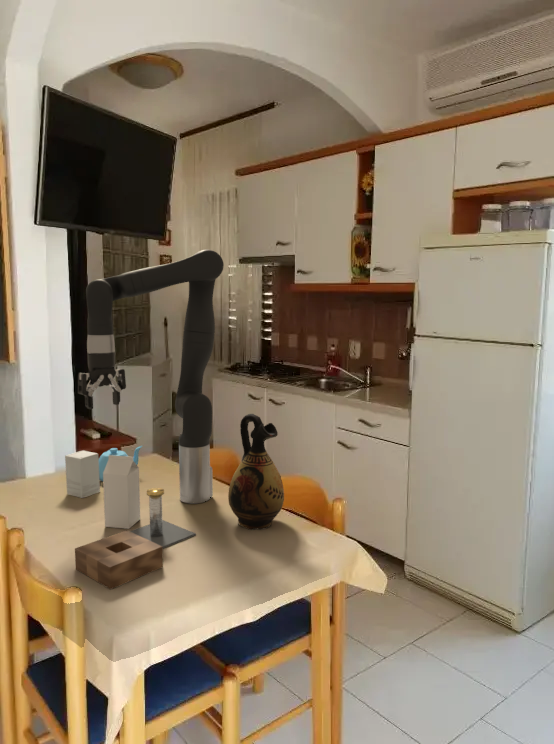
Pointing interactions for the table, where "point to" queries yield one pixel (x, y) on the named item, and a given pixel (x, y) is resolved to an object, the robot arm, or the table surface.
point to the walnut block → (118, 558)
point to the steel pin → (155, 511)
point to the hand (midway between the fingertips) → (103, 406)
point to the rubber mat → (165, 534)
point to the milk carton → (121, 492)
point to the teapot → (114, 452)
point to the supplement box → (82, 474)
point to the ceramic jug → (256, 479)
